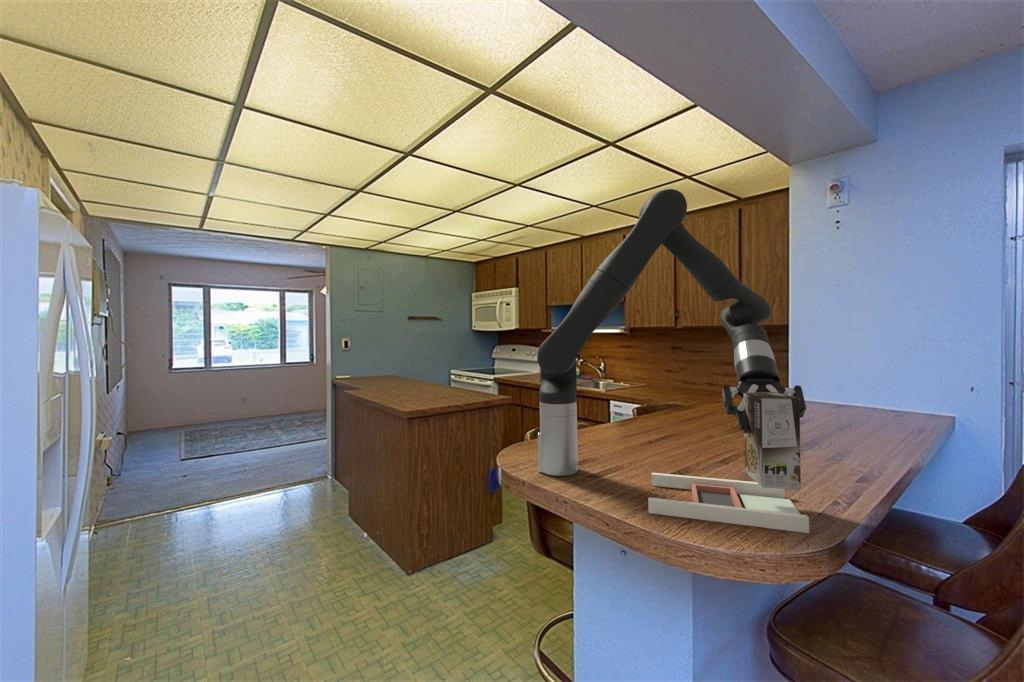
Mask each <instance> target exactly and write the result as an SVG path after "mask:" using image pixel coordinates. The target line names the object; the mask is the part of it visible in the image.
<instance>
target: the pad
mask: <svg viewBox="0 0 1024 682" xmlns="http://www.w3.org/2000/svg"><path fill="white" fill-rule="evenodd" d="M739 497H740V498H739V499H740V501H741V502H742V505H743V506H744V507H743V508H748V509H757V510H766V511H775V512H784V513H793V514H801V513H800V511H799V510H798V508H797V507H796V505H794V503H793V502H792V501H791V500H790V499H789V498H785V499H781V498H771V497H762V496H752V495H742V494H740V495H739Z"/></svg>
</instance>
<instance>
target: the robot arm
mask: <svg viewBox="0 0 1024 682" xmlns="http://www.w3.org/2000/svg"><path fill="white" fill-rule="evenodd" d="M687 211H688V202H687V199H686V197H685V195H684V194H683V193H682V192H681V191H679V190H677V189H674V188H672V189H671V188H667V189H662V190H659V191H657V192H655V193H654V194H653V195H651V196H650V197H649V198H648V199H647V200H646V201H644V203H643V204H642V206H641V207H640V209H639V214H638V219H637V221H636V223H635V225H634V226H633V228H632V229H631V231H630V232H629V233H628V234H627V236H626V237H625V238H624V239H623V241H621V242H620V243H619V245H617V246H616V247H615V248H614V250H612V252H610V254H608V255H607V257H606V258H605V259H603V261H602V263H600V265H599V266H598V267H597V268H596V270H595V271H594V273H593V274H592V275H591V276H590V278H589V280H588V281H587V283H586V284H585V285H584V287H583V288H582V290H581V291H580V293H579V295H578V296H577V298H576V300H574V303H573V305H572V307H570V310H569V312H567V315H566V316H565V317H564V319H563V320H562V321H561V322H560V323H559V324H558V325H557V326H556V328H555V329H554V330H553V331H552V332H551V334H550V335H548V336H547V337H546V339H544V341H543V342H542V343H541V344H540V345H539V347H538V348H537V349H538V350H537V355H536V359H537V364H538V366H539V369H540V371H539V372H540V385H539V392H538V394H539V396H538V397H539V432H538V433H537V470H538V471H537V472H538V473H544V474H545V475H547V476H548V475H549V476H555V477H557V476H558V477H561V476H562V477H563V476H564V477H565V476H572V475H576V474H577V473H578V471H579V460H578V459H579V457H578V455H579V454H578V453H579V452H578V451H579V450H578V416H577V415H578V410H577V409H578V406H577V404H578V403H577V395H578V394H577V389H578V384H577V383H578V382H577V381H578V380H577V377H578V376H577V375H578V374H577V357H578V355H579V354H580V353H581V350H582V349H583V347H584V345H585V344H586V342H587V341H588V339H589V338H590V337H591V335H592V334H593V333H594V332H595V330H597V328H599V326H600V325H601V324H602V323H603V322H604V321H605V320H606V319H608V317H609V316H610V315H611V314H612V313H613V312H614V311H615V310H616V308H617V307H618V306H619V305H620V304H621V302H622V301H623V299H624V298H625V297H626V296H627V294H628V293H629V291H630V290H631V289H632V287H633V286H634V285H635V283H636V281H637V280H638V279H639V277H640V276H641V274H642V272H643V271H644V270H645V268H646V266H647V265H648V263H649V261H650V260H651V258H652V256H653V255H654V254H655V253H656V251H657V250H658V249H659V248H660V247H661V246H664V247H665V248H666V249H667V250H668V251H669V252H670V253H671V255H673V256H674V257H675V258H676V259H677V260H678V261H679V262H680V263H681V265H683V267H684V268H685V269H686V270H687V271H688V273H689V274H691V276H692V277H693V278H694V279H695V282H696V283H698V285H699V286H700V287H701V288H702V289H703V291H704V292H705V293H706V294H707V295H708V297H709V298H710V299H711V300H712V301H714V302H722V301H727V300H730V299H733V300H734V299H735V300H737V301H735V302H734V303H732V304H730V305H728V306H726V307H724V308H723V310H722V311H721V313H720V316H719V318H720V322H721V324H722V325H723V327H724V328H725V330H726V331H727V334H728V335H729V337H730V339H731V341H732V342H731V343H732V346H733V347H732V348H733V354H734V356H733V359H734V360H733V361H734V365H733V366H734V368H735V373H736V374H735V375H736V378H737V379H736V381H737V384H738V385H737V386H730V385H729V384H727V383H726V384H723V385H722V391H721V392H722V394H721V395H722V398H723V404H724V409H725V414H726V415H729V416H731V415H733V416H735V417H736V420H737V425H738V430H740V431H742V434H744V433H748V422H747V416H746V412H744V410H745V405H744V394H743V393H755V392H778V393H782V394H786V395H789V396H793V397H797V398H800V419H802V418H803V417H804V416H805V412H806V410H807V405H806V402H805V401H806V400H805V398H804V397H805V396H804V392H803V387H802V386H801V385H797V384H796V385H795V386H794V387H785V386H784V385H783V384H782V382H781V379H780V374H779V370H778V367H777V363H776V362H777V361H776V359H775V356H774V352H773V350H772V348H771V345H770V344H771V343H770V341H769V336H768V332H767V330H766V329H765V328H764V327H763V326H762V325H759V324H762V323H763V322H766V321H767V320H768V319H769V318H770V317H771V315H772V314H771V313H772V310H771V306H770V304H769V303H768V301H767V300H766V299H765V298H764V297H762V296H761V295H760V294H759V293H757V292H755V291H754V290H752V289H750V288H749V287H748V286H747V285H745V284H743V282H742V281H741V280H739V278H737V277H736V276H735V275H734V274H733V272H732V271H731V269H730V268H729V267H728V266H727V265H726V264H725V263H724V261H722V259H721V258H719V257H718V256H717V255H716V254H715V253H713V251H711V250H710V249H709V248H708V247H706V246H704V244H702V243H701V242H700V241H698V240H697V239H696V238H695V237H694V236H693V235H692V234H691V233H690V232H689V231H688V230H687V228H686V227H685V225H684V224H683V221H684V219H685V218H686V215H687ZM736 394H737V395H738V396H739V397H740V398H742V399H741V402H740V403H739V404H738V406H737V405H734V401H733V398H734V397H735V395H736Z"/></svg>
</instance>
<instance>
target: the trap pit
mask: <svg viewBox="0 0 1024 682" xmlns="http://www.w3.org/2000/svg"><path fill="white" fill-rule="evenodd" d="M691 496H692V502H695V503H704V504H713V505H722V506H731V507H740V508H743V506H742V505H743V504H742V503H741V500H740V498H739V496H738V494H736V491H735V489H734V487H724V486H713V485H703V484H693V483H691Z"/></svg>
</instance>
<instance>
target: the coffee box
mask: <svg viewBox="0 0 1024 682" xmlns="http://www.w3.org/2000/svg"><path fill="white" fill-rule="evenodd" d="M743 394H744V405H745V410H744V412H746V416H747V422H748V433H743V434H744V467H745V468H744V471H745V472H744V473H746V474H747V475H748V476H749V478H751V479H752V480H753V481H754V482H757V483H758V484H759V485H761V486H762V487H763V488H777V489H784V490H793V491H794V490H796V491H800V490H801V489H802V487H801V486H802V485H801V484H802V482H801V481H802V480H801V418H800V398H797V397H793V396H789V395H787V394H782V393H778V392H755V393H743Z"/></svg>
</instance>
